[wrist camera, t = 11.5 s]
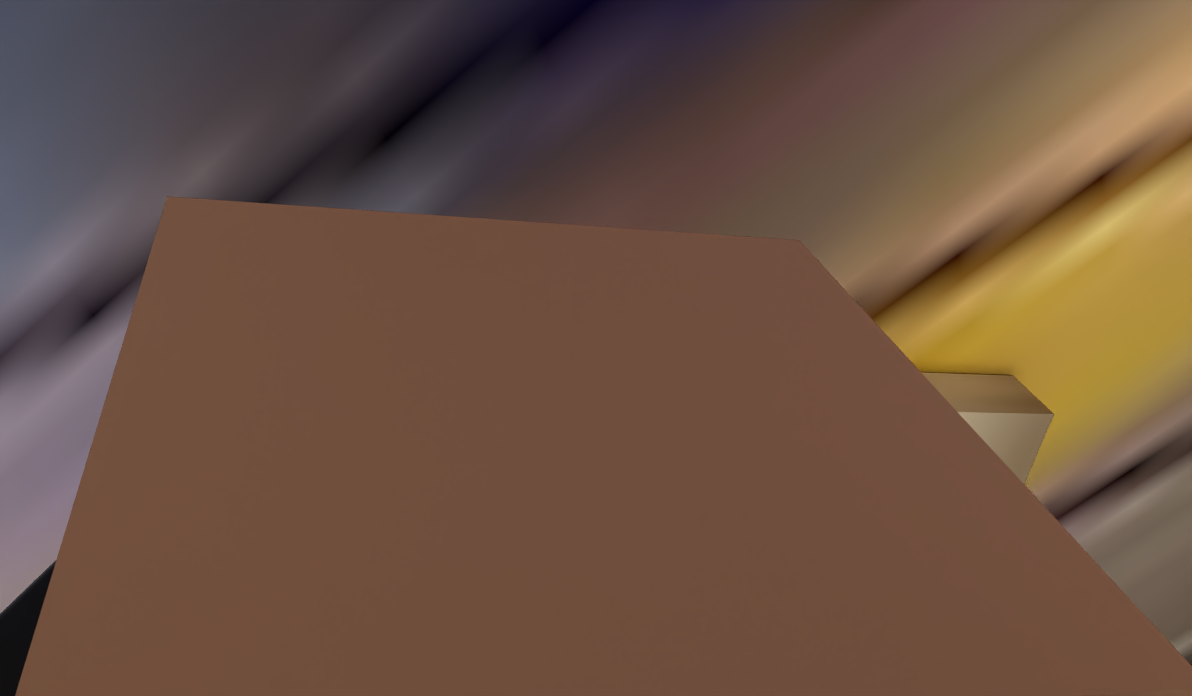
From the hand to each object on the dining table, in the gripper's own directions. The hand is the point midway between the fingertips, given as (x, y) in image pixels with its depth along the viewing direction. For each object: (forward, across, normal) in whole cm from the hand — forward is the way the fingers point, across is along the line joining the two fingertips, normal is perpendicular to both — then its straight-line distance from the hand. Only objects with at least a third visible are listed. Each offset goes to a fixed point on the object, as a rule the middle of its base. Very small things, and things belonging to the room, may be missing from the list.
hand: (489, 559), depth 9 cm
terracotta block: (+1, 0, 0) cm, 1 cm away
